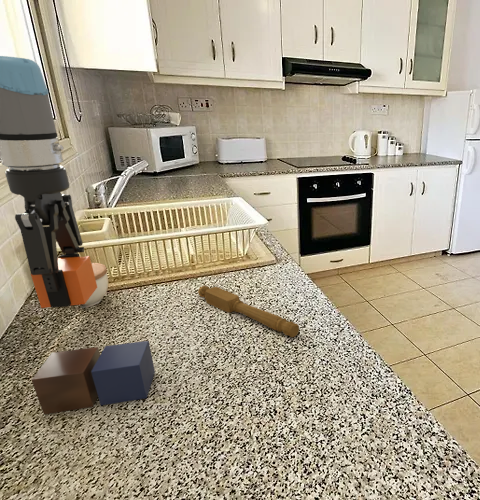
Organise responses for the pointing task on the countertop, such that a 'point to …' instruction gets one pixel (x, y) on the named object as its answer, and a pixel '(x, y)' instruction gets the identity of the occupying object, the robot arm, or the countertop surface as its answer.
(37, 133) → the robot arm
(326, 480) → the countertop surface
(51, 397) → the walnut block
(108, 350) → the navy block
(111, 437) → the countertop surface
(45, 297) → the orange block
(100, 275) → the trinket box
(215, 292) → the tap handle
